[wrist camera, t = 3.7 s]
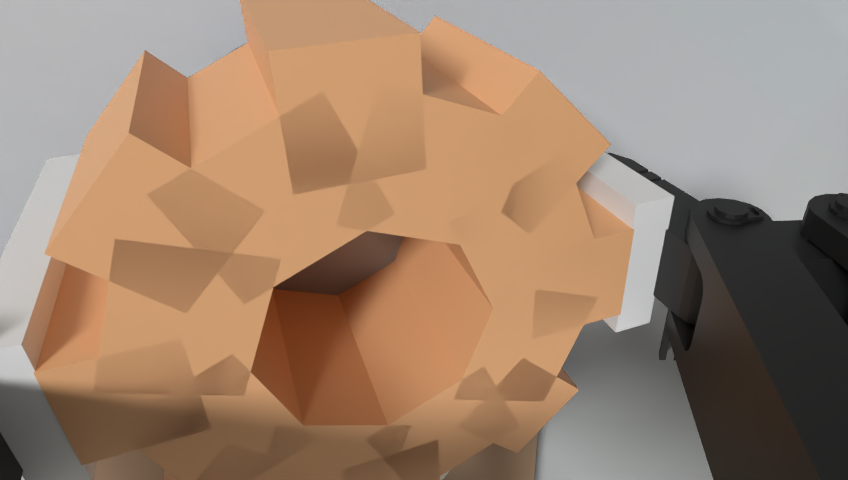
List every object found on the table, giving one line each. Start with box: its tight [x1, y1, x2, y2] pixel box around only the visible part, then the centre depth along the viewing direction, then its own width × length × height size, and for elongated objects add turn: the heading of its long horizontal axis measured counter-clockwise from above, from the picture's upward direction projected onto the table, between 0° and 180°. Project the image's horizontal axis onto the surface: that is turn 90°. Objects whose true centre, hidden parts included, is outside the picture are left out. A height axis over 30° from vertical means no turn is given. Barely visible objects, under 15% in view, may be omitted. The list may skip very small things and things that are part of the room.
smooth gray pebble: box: [227, 43, 403, 295], centre depth 15 cm, size 5×5×6 cm
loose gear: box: [33, 0, 634, 480], centre depth 11 cm, size 9×9×4 cm
